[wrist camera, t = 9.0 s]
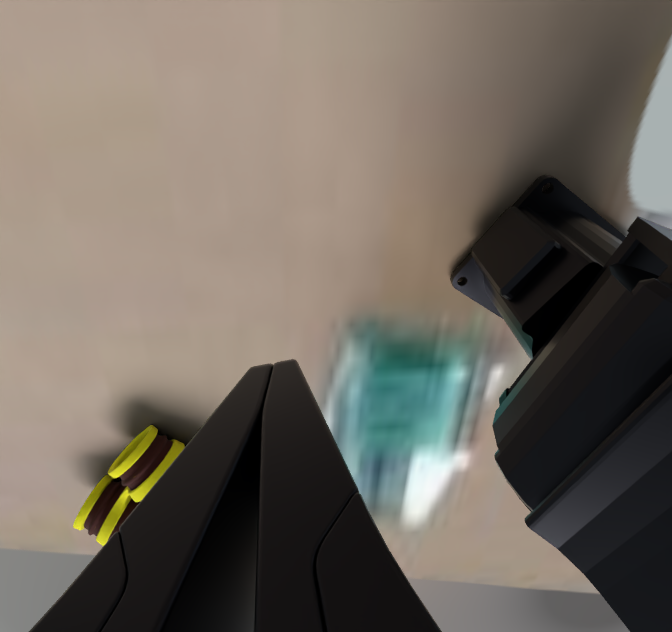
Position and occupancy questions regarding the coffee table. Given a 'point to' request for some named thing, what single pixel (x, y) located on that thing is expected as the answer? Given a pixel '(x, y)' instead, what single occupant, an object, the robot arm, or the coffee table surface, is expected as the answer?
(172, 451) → the opera glasses
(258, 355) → the coffee table surface
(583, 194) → the coffee table surface
